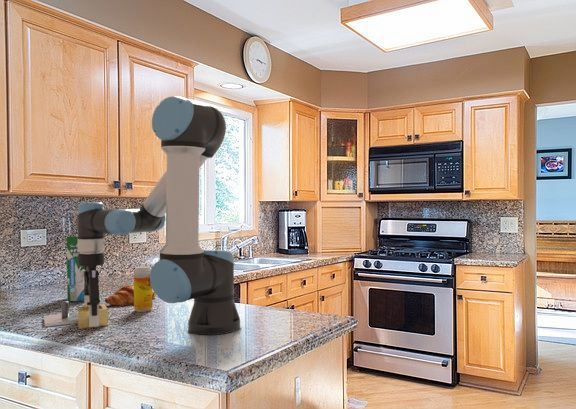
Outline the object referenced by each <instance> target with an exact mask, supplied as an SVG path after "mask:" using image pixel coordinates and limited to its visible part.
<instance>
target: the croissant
mask: <svg viewBox="0 0 576 409" xmlns="http://www.w3.org/2000/svg"><path fill="white" fill-rule="evenodd" d="M155 297H157V294H156V293H155V292H154V291H153V290H152V299H154V298H155ZM104 301H105V304H108V305H110V306H129V305H130V306H131V305H134V285H124V286H122V287H120V288H119V289H118V291H115V292H114V293H113V294H112V295H110V296H108V297H106V298H105V299H104Z"/></svg>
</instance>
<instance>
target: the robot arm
mask: <svg viewBox="0 0 576 409" xmlns="http://www.w3.org/2000/svg"><path fill="white" fill-rule="evenodd" d="M151 128H152V131H153V133H154V134H155V136H156V137H157V138H158V139H159V140H160V145H161V146H160V149H161V150H162V151H163V152H164V154H166V170H165V172H164V173H163V174H162V176H161V178H160V179H159V180H158V182H157V183H156V185H155V186H154V187H153V189H152V190H151V191H150V192H149V194H148V195H147V197H146V198H145V200H144V201H143V202H142V204H141V205H140V207H138V208H105V204H104V203H103V202H98V201H97V202H96V201H94V202H93V201H92V202H91V201H89V202H88V201H87V202H86V201H85V202H83V201H81V202H79V204H78V205H77V214H76V218H77V236H78V252H80V253H79V254H78V265H79V266H84V268H85V271H84V294H85V295H86V296H85V301H84V306H89V327H91V328H95V327H94V326H99V305H100V304H101V300H100V287H99V286H100V285H99V276H100V272H99V270H97V266H102V265H104V264H105V253H104V250H105V244H107V241H106V240H105V235H115V236H125V235H129V234H134V233H135V234H136V233H138V234H139V233H152V232H157V231H160V230H162V229H163V227H164V226H165V245H164V246H162V248H161V249H160V250H159V260H158V261H156V262H155V263H154V264H153V266H152V267H151V272H150V282H151V286H152V291H153V292H155V293H156V297H158V299H160V300H161V301H163V302H165V303H168V304H177V303H186V302H187V301H190V300H193V305H192V308H191V311H190V315H189V318H188V322H187V328H188V331H189V332H190V333H193V334H195V335H196V334H197V335H209V336H210V335H212V336H213V335H224V334H228V333H232V332H235V331H238V330H239V329H240V328H241V318H240V316H239V312H238V309H237V306H236V303H235V280H234V279H235V276H234V275H235V273H234V272H235V270H234V269H235V268H234V266H235V262H234V254H233V253H232V252H231V251H230V250H221V249H220V250H218V249H217V250H216V249H203V248H202V247H201V246H200V244H199V231H200V230H199V223H200V218H199V216H200V209H199V208H200V169H201V167H202V166H203V164H205V162H206V160H207V159H212V158H213V157H214V156H215V155H216V153H217V152H218V150H219V149H220V147H221V146H222V144H223V142H224V139H225V136H226V133H227V132H226V131H227V123H226V120H225V117H224V115H223V113H222V112H221V110H219V109H218V108H217V107H215V106H214V105H212V104H208V103H204V102H201V101H197V100H194V99H191V98H189V97H185V96H183V97H182V96H175V95H174V96H173V95H171V96H168V97H165V98H164V99H162V100H161V101H160V102H159V104H158V105H157V106H156V107H155V109H154V111H153V114H152V117H151ZM99 327H100V326H99Z"/></svg>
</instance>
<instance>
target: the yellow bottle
mask: <svg viewBox="0 0 576 409" xmlns="http://www.w3.org/2000/svg"><path fill="white" fill-rule="evenodd" d="M151 269H152V267H151V266H149V265H143V266H142V265H141V266H135V267H134V269H133V286H134V304H133V305H134V307H133V308H134V310H135V312H137V313H138V312H139V313H145V312H146V313H147V312H150V311H151V310H152V309H153V308H154V307H153V298H152V291H153V288H152V286H151V282H150V272H151Z"/></svg>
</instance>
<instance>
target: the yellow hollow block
mask: <svg viewBox="0 0 576 409" xmlns="http://www.w3.org/2000/svg"><path fill="white" fill-rule="evenodd" d="M76 312H77V323H76V324H77V327H78V329H79V330H81V329H89V328H90V329H91V328H92V327H89V306H85V305H84V306H77V307H76ZM108 314H109V310H108V307H107V306H106V304H104V303H103V304H99V326H94V327H93V328H96V327H107V326H109V320H108V319H109V315H108Z"/></svg>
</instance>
